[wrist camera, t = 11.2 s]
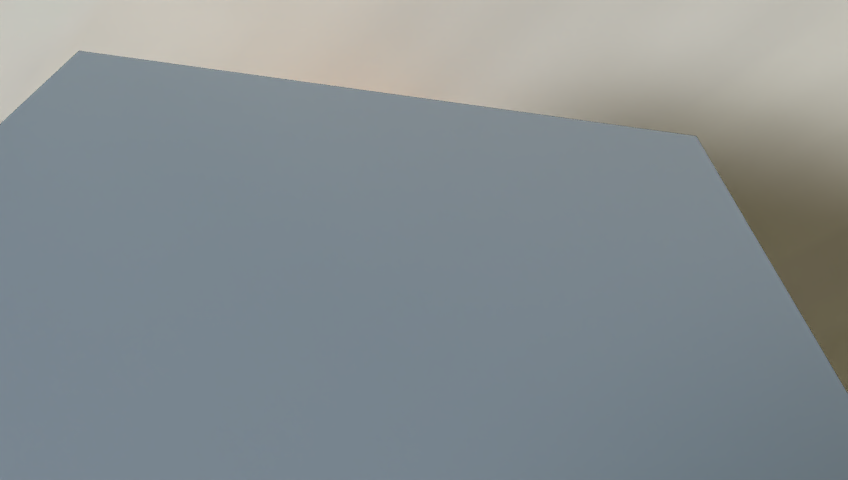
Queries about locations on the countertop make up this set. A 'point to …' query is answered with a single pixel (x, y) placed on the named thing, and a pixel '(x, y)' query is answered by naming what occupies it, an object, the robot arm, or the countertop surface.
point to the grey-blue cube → (382, 293)
